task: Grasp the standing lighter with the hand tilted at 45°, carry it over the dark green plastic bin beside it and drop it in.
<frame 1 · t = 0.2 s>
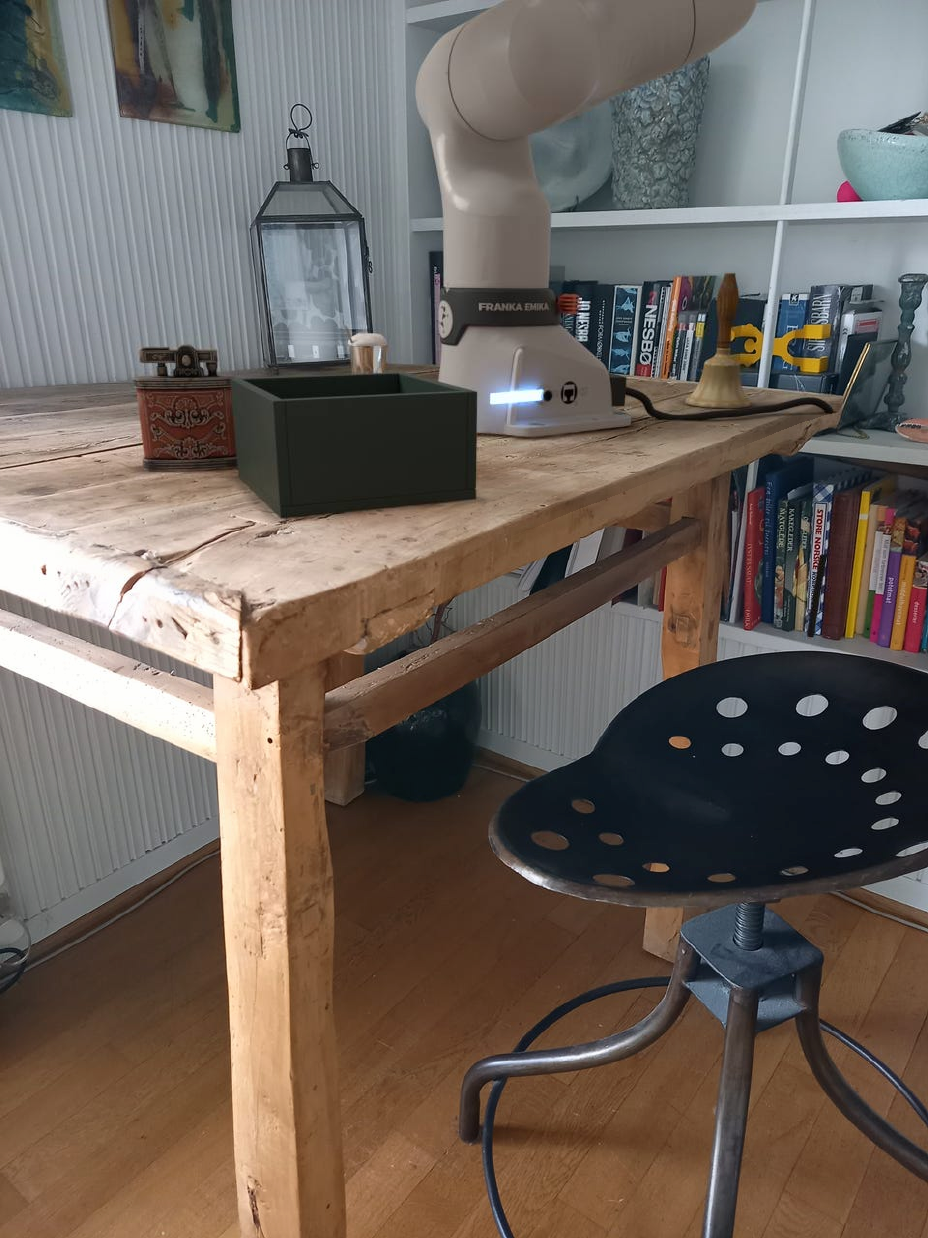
hand bell: (717, 405, 117), on the table
lighter: (193, 468, 77), on the table
bin: (351, 487, 70), on the table
milkshake: (366, 414, 108), on the table
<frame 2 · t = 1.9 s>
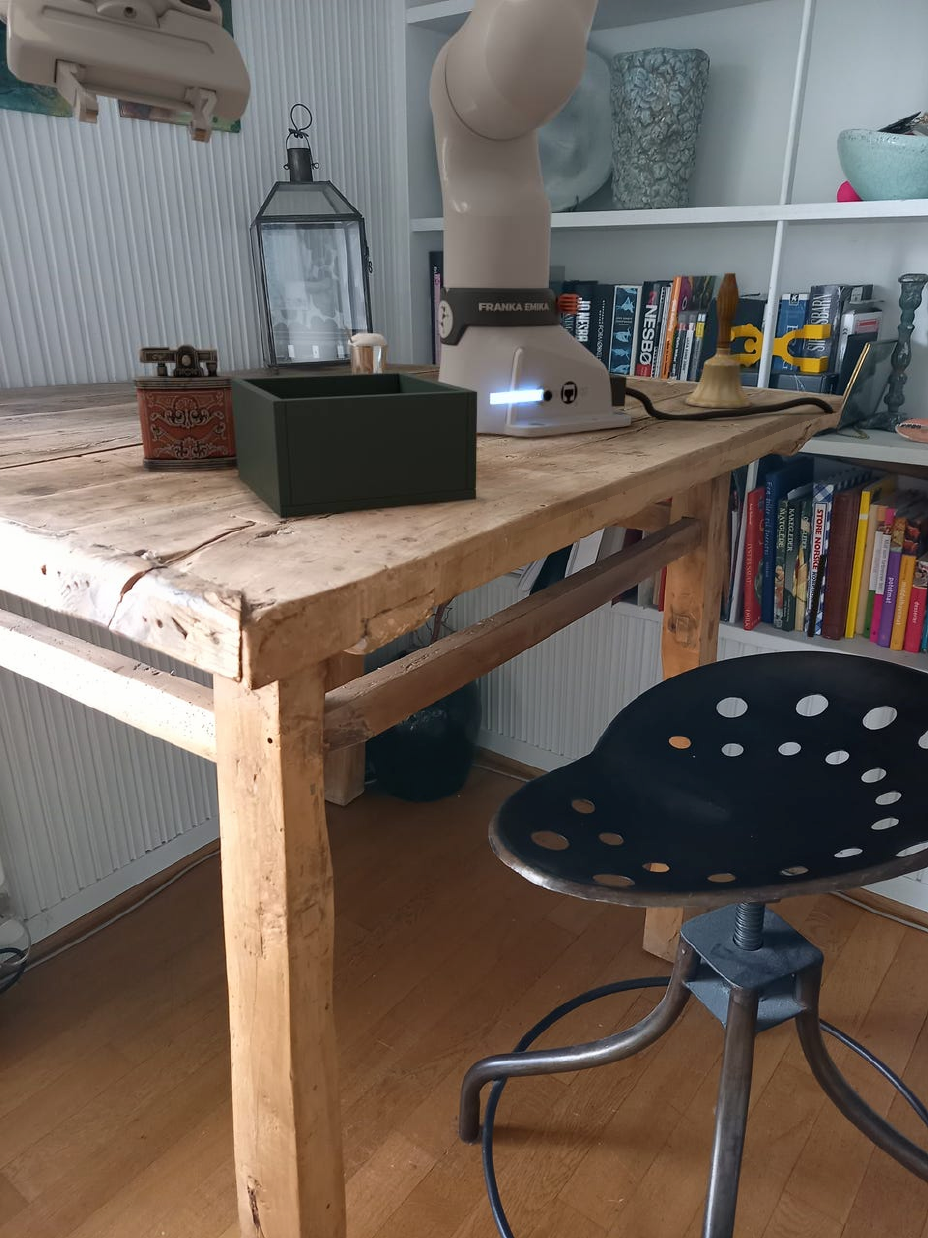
hand: (147, 126, 77), 27 cm above the table, tool tilted 45°, fingers open, 8 cm apart
nothing on the table moved.
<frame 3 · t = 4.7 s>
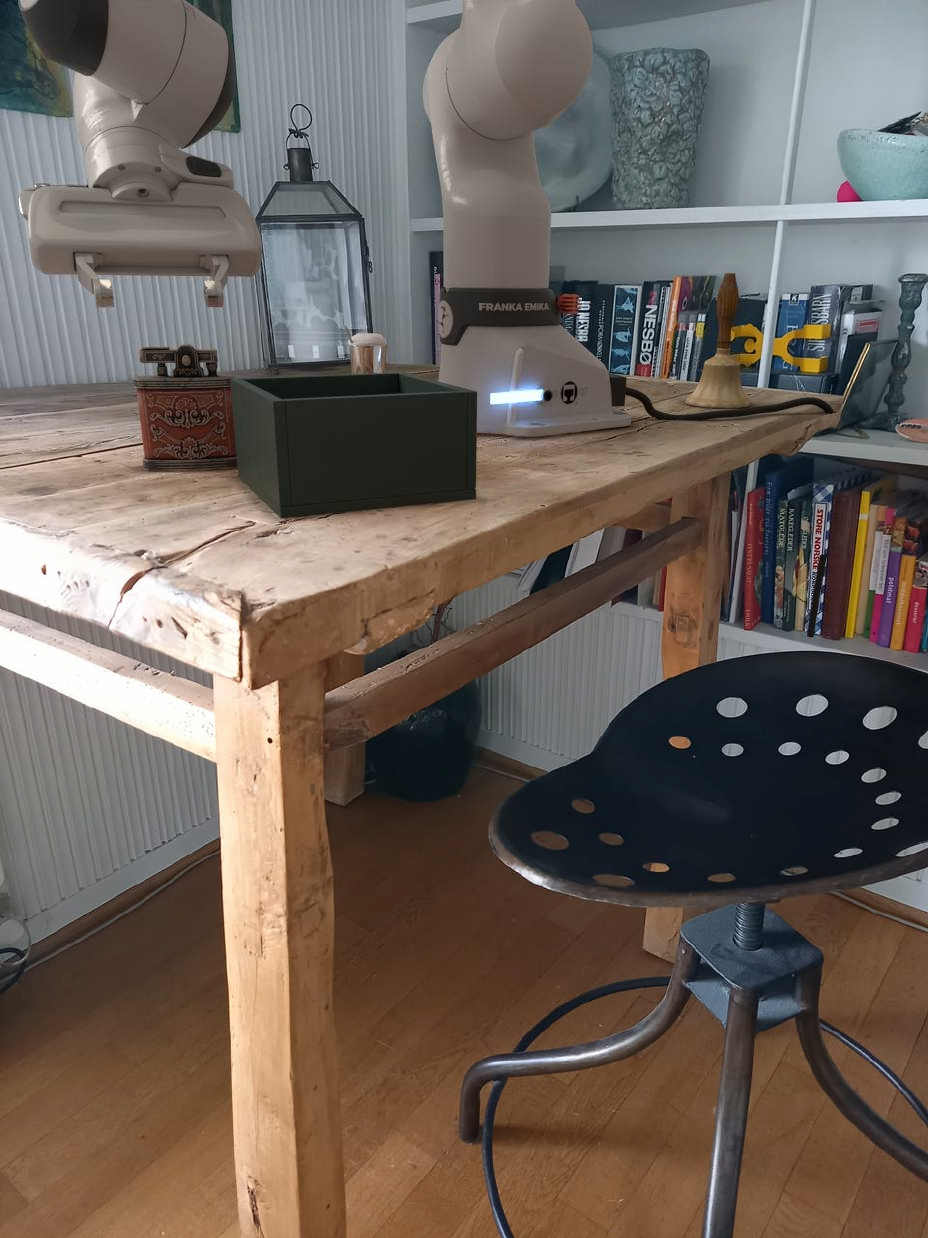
hand: (161, 302, 80), 13 cm above the table, tool tilted 45°, fingers open, 8 cm apart
nothing on the table moved.
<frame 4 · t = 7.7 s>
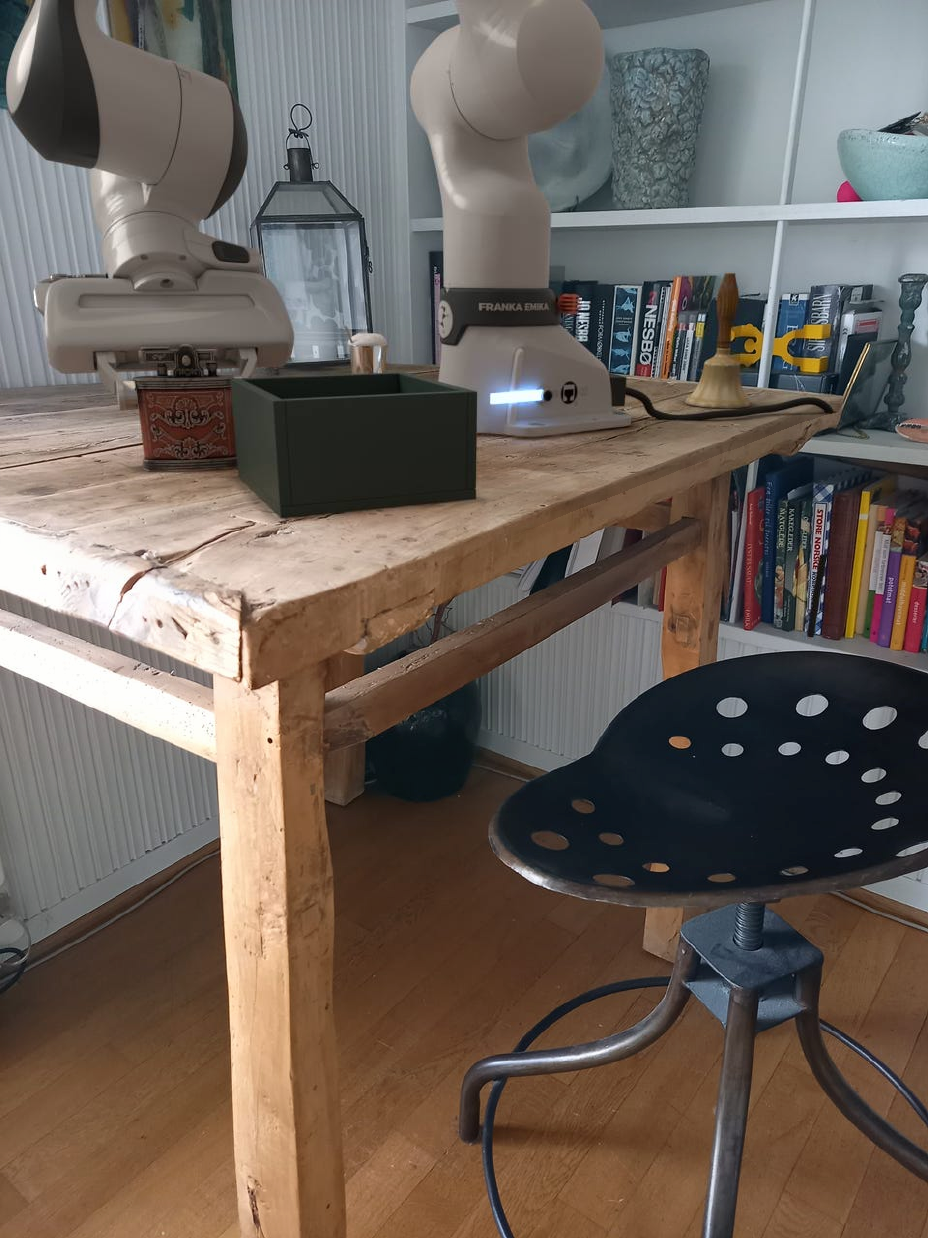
hand: (188, 402, 75), 5 cm above the table, tool tilted 45°, fingers closed on lighter, 8 cm apart
lighter: (193, 468, 77), on the table, touching gripper
everything else where it was.
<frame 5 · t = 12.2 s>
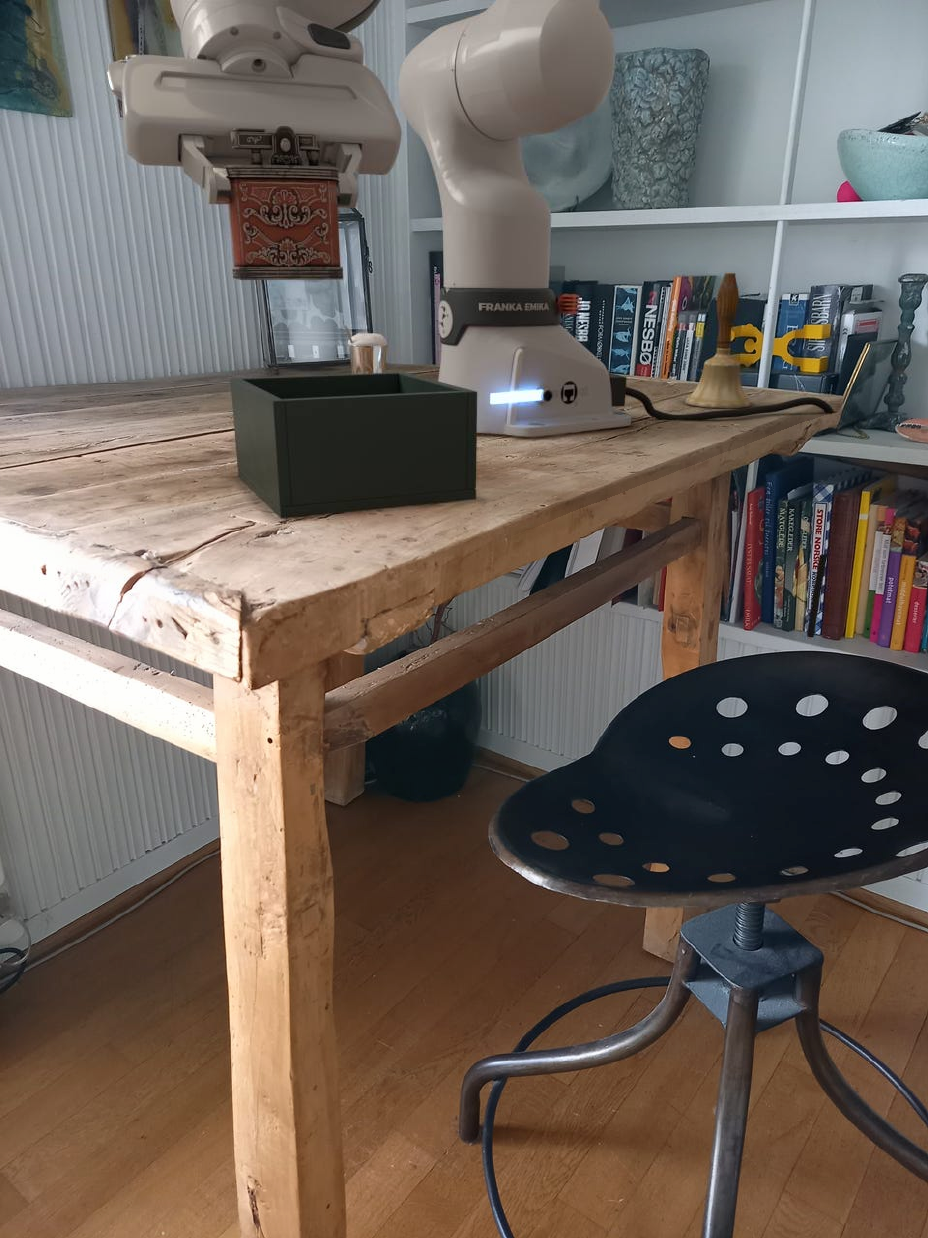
hand: (286, 198, 64), 20 cm above the table, tool tilted 45°, fingers closed on lighter, 8 cm apart
lighter: (289, 282, 67), point 15 cm above the table, touching gripper
everything else where it was.
when the fingers open (8 cm above the table, at t = 16.6 s): lighter drops 2 cm, resting on bin.
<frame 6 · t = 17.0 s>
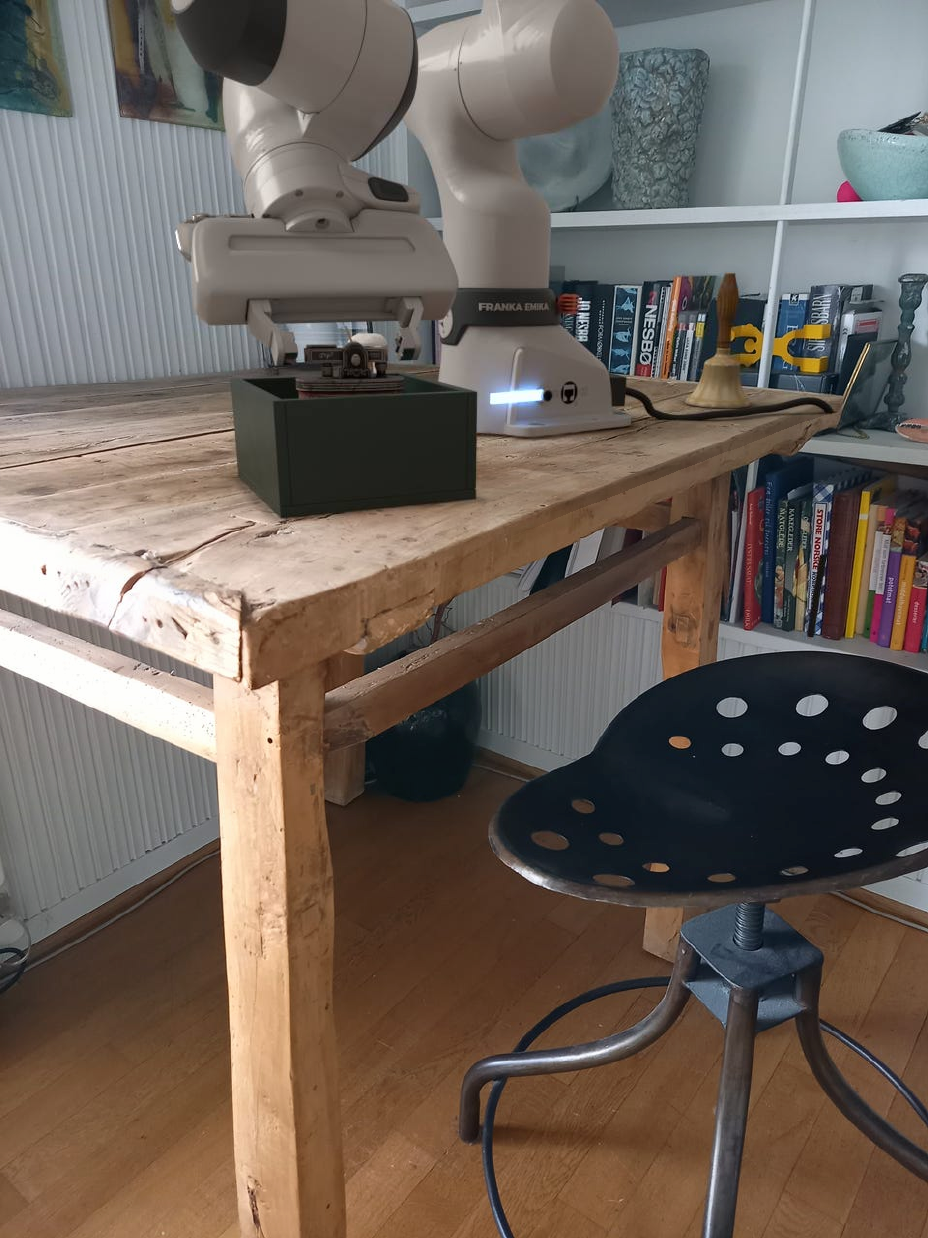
hand: (350, 357, 66), 10 cm above the table, tool tilted 45°, fingers open, 8 cm apart
lighter: (354, 479, 70), point 1 cm above the table, touching bin
everything else where it was.
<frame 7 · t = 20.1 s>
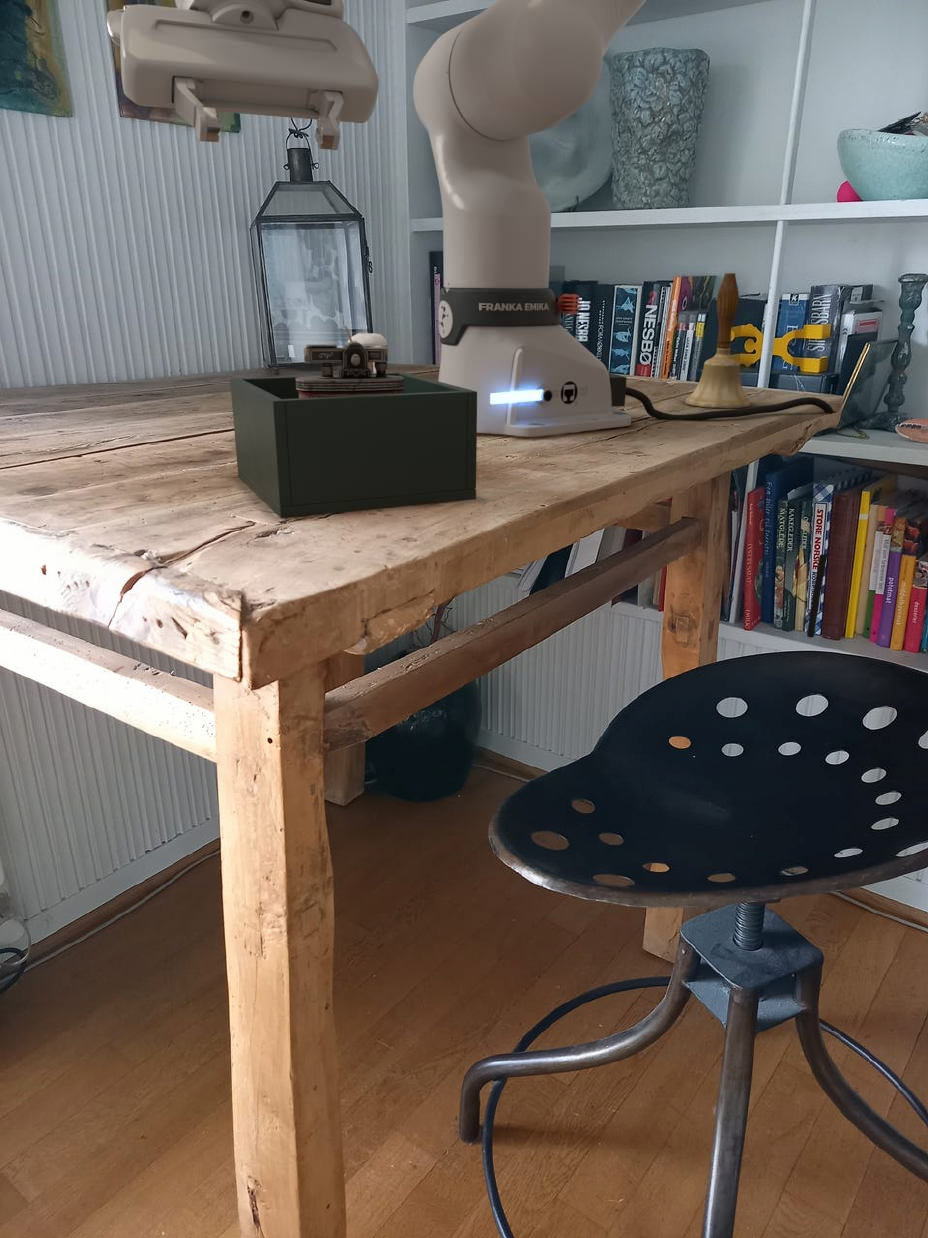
hand: (271, 138, 70), 25 cm above the table, tool tilted 45°, fingers open, 8 cm apart
nothing on the table moved.
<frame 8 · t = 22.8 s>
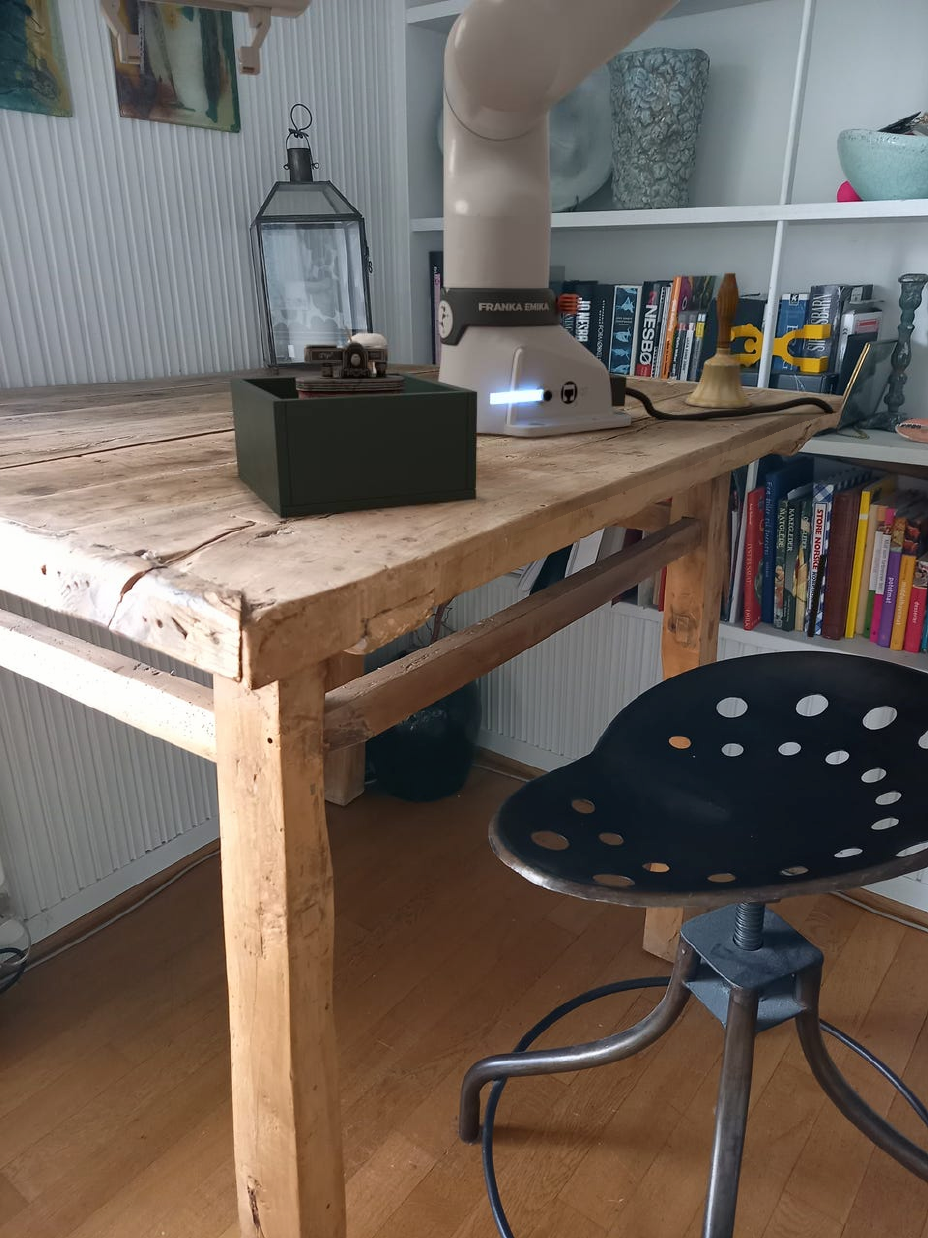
hand: (191, 68, 73), 31 cm above the table, tool pointing down, fingers open, 8 cm apart
nothing on the table moved.
at the end: lighter inside the target area in the bin (0.3 cm from its centre), point 0.6 cm above the bin's base; the gripper is holding nothing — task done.
